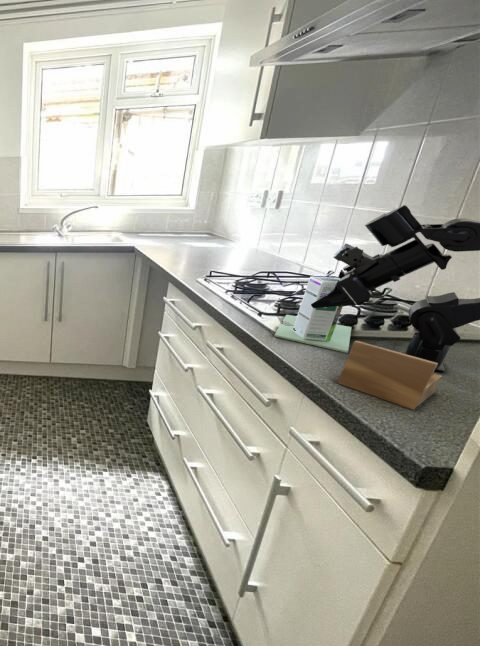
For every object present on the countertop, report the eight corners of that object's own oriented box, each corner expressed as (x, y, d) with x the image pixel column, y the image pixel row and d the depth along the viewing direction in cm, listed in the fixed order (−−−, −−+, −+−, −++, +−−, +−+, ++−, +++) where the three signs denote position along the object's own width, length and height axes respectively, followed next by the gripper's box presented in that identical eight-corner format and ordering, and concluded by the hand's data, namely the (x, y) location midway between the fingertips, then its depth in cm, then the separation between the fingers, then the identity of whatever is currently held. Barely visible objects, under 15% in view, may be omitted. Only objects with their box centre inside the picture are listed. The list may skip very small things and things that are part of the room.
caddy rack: (358, 370, 87) (375, 330, 83) (432, 394, 78) (454, 351, 74) (337, 383, 82) (354, 341, 78) (413, 410, 73) (436, 364, 69)
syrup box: (302, 339, 100) (323, 281, 94) (291, 330, 105) (310, 274, 100) (330, 342, 99) (352, 283, 93) (316, 332, 104) (337, 276, 98)
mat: (285, 316, 117) (286, 314, 117) (350, 328, 108) (351, 327, 108) (274, 336, 103) (274, 334, 103) (347, 353, 95) (348, 351, 94)
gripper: (371, 228, 96) (297, 267, 107) (370, 238, 83) (286, 282, 94) (404, 267, 94) (325, 303, 105) (409, 284, 81) (318, 323, 92)
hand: (314, 301), depth 99 cm, fingers open, 9 cm apart
